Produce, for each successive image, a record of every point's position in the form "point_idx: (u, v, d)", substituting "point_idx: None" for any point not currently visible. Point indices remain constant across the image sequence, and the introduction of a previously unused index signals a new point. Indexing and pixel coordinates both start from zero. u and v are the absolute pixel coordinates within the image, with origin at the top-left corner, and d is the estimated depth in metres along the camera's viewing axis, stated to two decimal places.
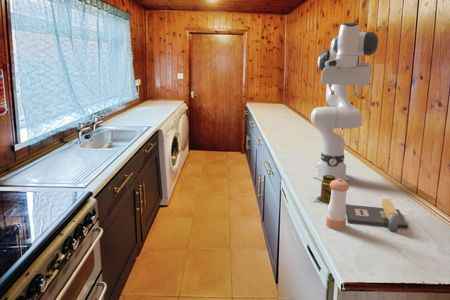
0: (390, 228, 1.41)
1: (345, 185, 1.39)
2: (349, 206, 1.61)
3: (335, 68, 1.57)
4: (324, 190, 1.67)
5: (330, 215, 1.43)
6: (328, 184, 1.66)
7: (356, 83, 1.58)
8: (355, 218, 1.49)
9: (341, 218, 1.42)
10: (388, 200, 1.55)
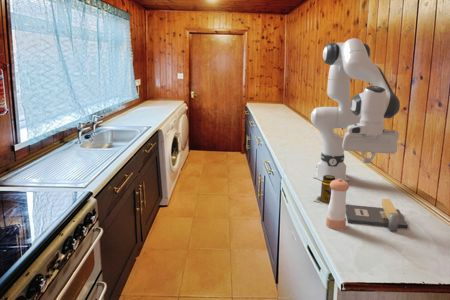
0: (390, 228, 1.41)
1: (345, 185, 1.39)
2: (349, 206, 1.61)
3: (359, 135, 1.45)
4: (324, 190, 1.67)
5: (330, 215, 1.43)
6: (328, 184, 1.66)
7: (381, 151, 1.45)
8: (355, 218, 1.49)
9: (341, 218, 1.42)
10: (388, 200, 1.55)
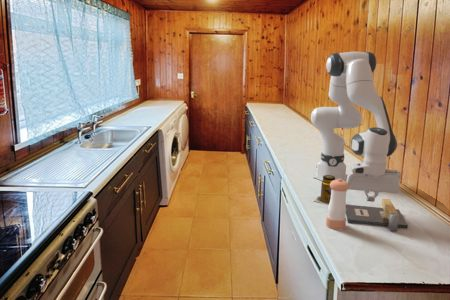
0: (390, 228, 1.41)
1: (345, 185, 1.39)
2: (349, 206, 1.61)
3: (362, 175, 1.49)
4: (324, 190, 1.67)
5: (330, 215, 1.43)
6: (328, 184, 1.66)
7: (384, 191, 1.49)
8: (355, 218, 1.49)
9: (341, 218, 1.42)
10: (388, 200, 1.55)
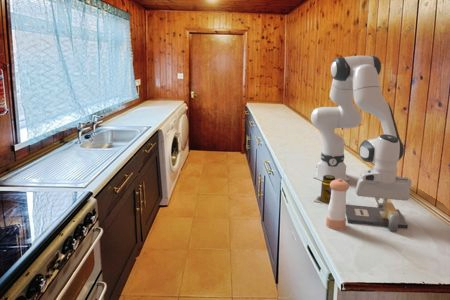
0: (390, 228, 1.41)
1: (345, 185, 1.39)
2: (349, 206, 1.61)
3: (372, 182, 1.49)
4: (324, 190, 1.67)
5: (330, 215, 1.43)
6: (328, 184, 1.66)
7: (394, 198, 1.49)
8: (355, 218, 1.49)
9: (341, 218, 1.42)
10: (388, 200, 1.55)
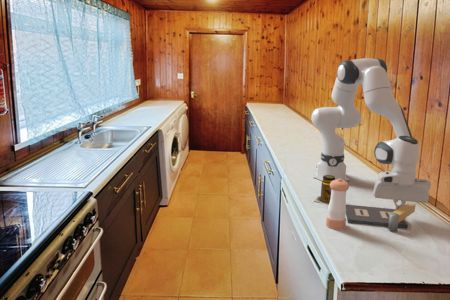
0: (388, 227, 1.42)
1: (345, 185, 1.39)
2: (349, 206, 1.61)
3: (391, 184, 1.47)
4: (324, 190, 1.67)
5: (330, 215, 1.43)
6: (328, 184, 1.66)
7: (413, 200, 1.47)
8: (355, 218, 1.49)
9: (341, 218, 1.42)
10: (411, 205, 1.51)
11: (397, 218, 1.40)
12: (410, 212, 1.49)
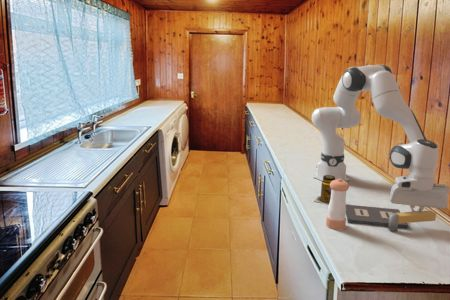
0: (388, 226, 1.43)
1: (345, 185, 1.39)
2: (349, 206, 1.61)
3: (408, 189, 1.42)
4: (324, 190, 1.67)
5: (330, 215, 1.43)
6: (328, 184, 1.66)
7: (431, 206, 1.43)
8: (355, 218, 1.49)
9: (341, 218, 1.42)
10: (430, 212, 1.43)
11: (395, 218, 1.40)
12: (424, 219, 1.42)
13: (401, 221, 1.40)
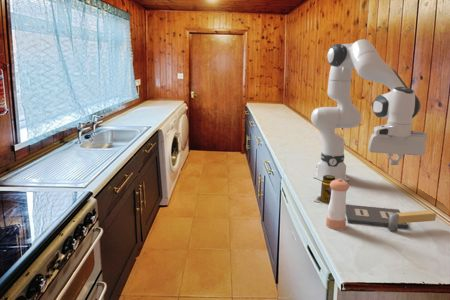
0: (388, 226, 1.43)
1: (345, 185, 1.39)
2: (349, 206, 1.61)
3: (386, 137, 1.43)
4: (324, 190, 1.67)
5: (330, 215, 1.43)
6: (328, 184, 1.66)
7: (409, 153, 1.43)
8: (355, 218, 1.49)
9: (341, 218, 1.42)
10: (430, 212, 1.43)
11: (395, 218, 1.40)
12: (424, 219, 1.42)
13: (401, 221, 1.40)
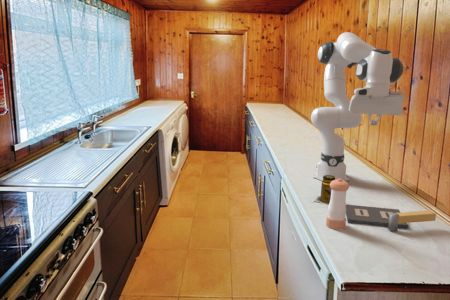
0: (388, 226, 1.43)
1: (345, 185, 1.39)
2: (349, 206, 1.61)
3: (365, 97, 1.49)
4: (324, 190, 1.67)
5: (330, 215, 1.43)
6: (328, 184, 1.66)
7: (387, 113, 1.49)
8: (355, 218, 1.49)
9: (341, 218, 1.42)
10: (430, 212, 1.43)
11: (395, 218, 1.40)
12: (424, 219, 1.42)
13: (401, 221, 1.40)
